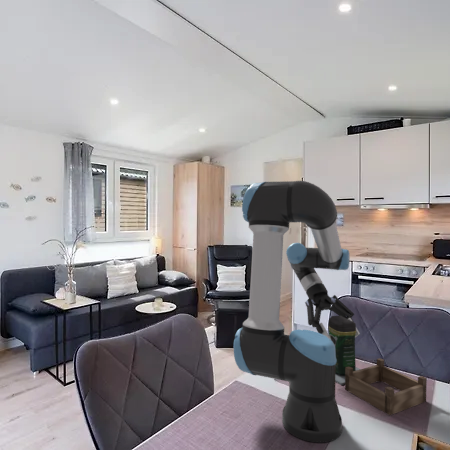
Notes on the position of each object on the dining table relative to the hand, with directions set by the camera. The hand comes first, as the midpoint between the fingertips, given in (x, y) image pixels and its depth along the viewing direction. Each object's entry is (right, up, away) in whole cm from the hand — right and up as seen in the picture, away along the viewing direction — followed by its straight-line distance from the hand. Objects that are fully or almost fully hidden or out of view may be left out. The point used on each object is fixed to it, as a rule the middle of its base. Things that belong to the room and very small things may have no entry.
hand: (343, 338), depth 120 cm
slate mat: (-1, -12, +1) cm, 12 cm away
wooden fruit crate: (+7, -12, -15) cm, 21 cm away
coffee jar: (0, -12, +1) cm, 11 cm away
